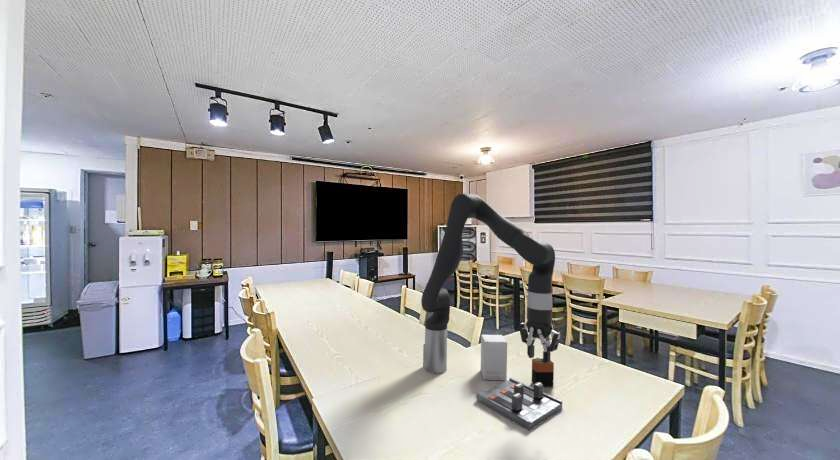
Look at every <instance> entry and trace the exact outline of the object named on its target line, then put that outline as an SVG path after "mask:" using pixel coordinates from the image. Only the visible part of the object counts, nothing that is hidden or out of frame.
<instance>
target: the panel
mask: <svg viewBox="0 0 840 460" xmlns="http://www.w3.org/2000/svg"><path fill="white" fill-rule="evenodd" d="M518 383H519V384H520V383H521V384H522V385H524V397H523V398H522V409H520V410H518V411H516V410H514V409H513V408H512V395H514V385H516V384H518ZM476 402H477V403H479V404H481V405H482V406H485V408H488V409H489V410H491V411H493V412H495V413H497V414H498V415H500V416H502V417H504V418H506V419H507V420H509V421H510V422H512V423H514V424H516V425H517V426H520V427H521V428H523V429H524V430H526V431H528V432H529V431H531V430H532V429H534V428H536V427H537V426H539V425H541V424H542V423H543V422H545V421H546V420H548V419H550V418H551V417H552V416H554V415H556V414H557V413H559V412H560V411H562V410H563V400H561V399H558V398H556V397H554V396H552V395H550V394H548V393H545V392H543V397H541V398H539V399H538V398H536V397H534V387H532V386H530V385H527V384H525V383H523V382H522V381H518V380H516V379H514V378H512V377H510V378H509V379H508V380H505V381H504V382H502V383H500V384H498V385H496V386H493V387H491V388H489V389H487V390H485V391H482V392H481V393H480V392H476Z"/></svg>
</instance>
